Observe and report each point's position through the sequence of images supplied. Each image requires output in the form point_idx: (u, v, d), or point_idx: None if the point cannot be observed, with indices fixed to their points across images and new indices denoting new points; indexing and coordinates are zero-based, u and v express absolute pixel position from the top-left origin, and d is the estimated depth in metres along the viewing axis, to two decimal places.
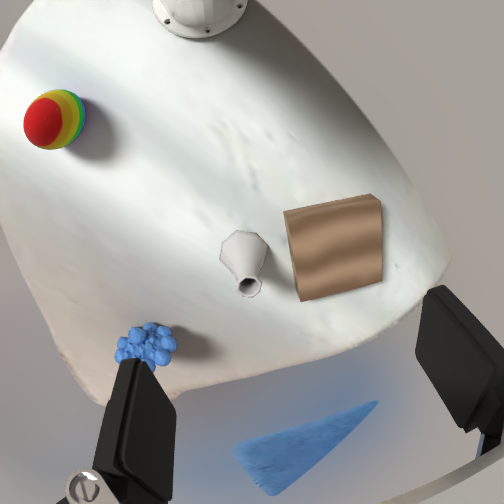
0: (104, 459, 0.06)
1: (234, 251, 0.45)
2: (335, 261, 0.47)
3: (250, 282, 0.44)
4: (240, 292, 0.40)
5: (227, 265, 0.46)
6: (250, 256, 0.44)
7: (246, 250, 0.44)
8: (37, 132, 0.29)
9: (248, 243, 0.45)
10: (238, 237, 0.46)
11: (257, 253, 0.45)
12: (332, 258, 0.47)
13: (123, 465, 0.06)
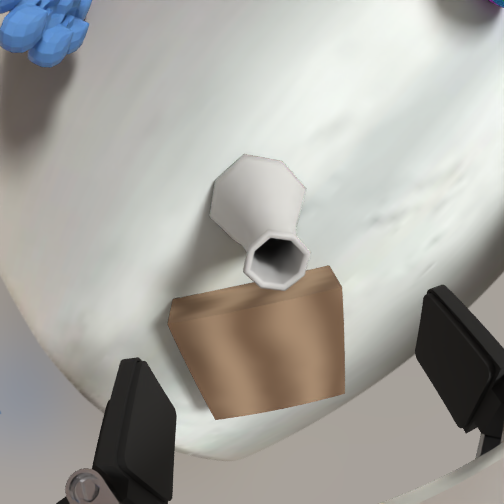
0: (104, 459, 0.06)
1: (291, 195, 0.21)
2: (253, 363, 0.27)
3: (243, 243, 0.19)
4: (261, 243, 0.15)
5: (256, 179, 0.20)
6: None
7: None
8: None
9: (297, 220, 0.22)
10: None
11: (284, 241, 0.22)
12: (261, 358, 0.27)
13: (123, 465, 0.06)
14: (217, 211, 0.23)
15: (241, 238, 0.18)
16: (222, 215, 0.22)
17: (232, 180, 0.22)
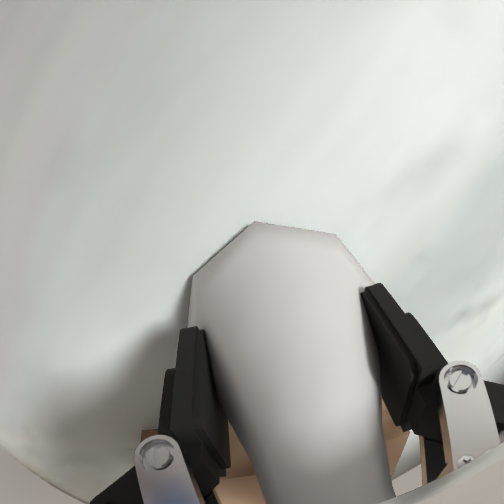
0: (179, 421, 0.07)
1: (364, 332, 0.09)
2: None
3: (261, 478, 0.06)
4: None
5: (291, 308, 0.08)
6: None
7: None
8: None
9: None
10: None
11: None
12: None
13: (199, 426, 0.07)
14: None
15: (257, 470, 0.06)
16: None
17: (230, 292, 0.10)
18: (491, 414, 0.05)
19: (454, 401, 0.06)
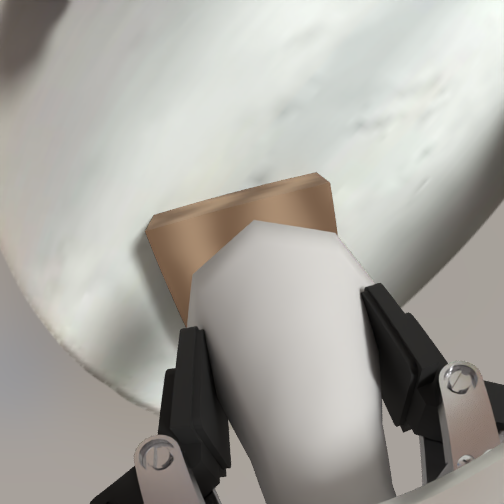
0: (179, 421, 0.07)
1: (364, 331, 0.09)
2: None
3: (261, 477, 0.06)
4: None
5: (290, 306, 0.08)
6: None
7: None
8: None
9: None
10: None
11: None
12: None
13: (199, 426, 0.07)
14: None
15: (257, 469, 0.06)
16: None
17: (229, 291, 0.10)
18: (491, 414, 0.05)
19: (454, 401, 0.06)
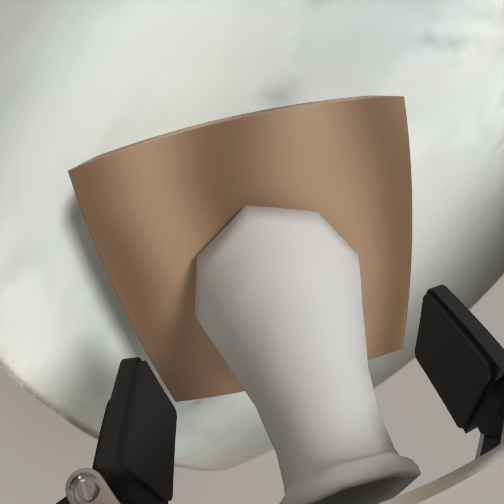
0: (104, 459, 0.06)
1: (346, 290, 0.10)
2: None
3: (265, 419, 0.08)
4: (323, 498, 0.05)
5: (280, 269, 0.10)
6: None
7: None
8: None
9: None
10: None
11: None
12: None
13: (123, 465, 0.06)
14: (207, 317, 0.12)
15: (261, 411, 0.08)
16: (216, 332, 0.11)
17: (229, 264, 0.11)
18: None
19: None
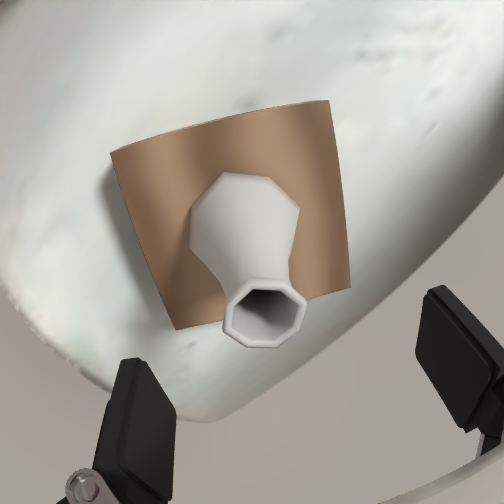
0: (104, 459, 0.06)
1: (281, 219, 0.17)
2: None
3: (224, 287, 0.15)
4: (242, 296, 0.11)
5: (238, 204, 0.17)
6: None
7: None
8: None
9: (291, 247, 0.19)
10: (297, 217, 0.19)
11: None
12: None
13: (123, 465, 0.06)
14: (196, 242, 0.19)
15: (221, 281, 0.15)
16: (201, 248, 0.18)
17: (210, 205, 0.18)
18: None
19: None
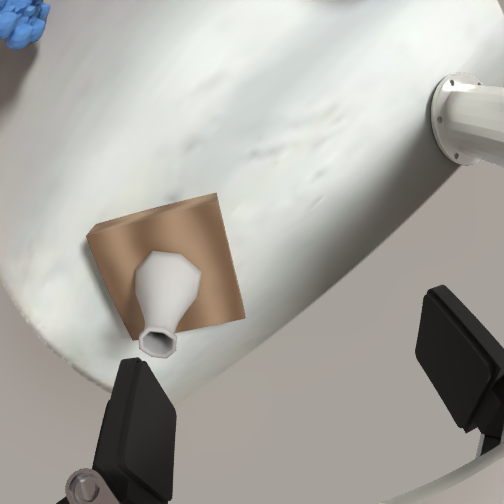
0: (104, 459, 0.06)
1: (181, 285, 0.29)
2: None
3: None
4: (145, 334, 0.23)
5: (156, 276, 0.29)
6: (182, 312, 0.29)
7: (186, 303, 0.30)
8: None
9: (191, 298, 0.31)
10: (196, 280, 0.31)
11: None
12: None
13: (123, 465, 0.06)
14: (137, 292, 0.31)
15: None
16: (139, 297, 0.30)
17: (144, 273, 0.30)
18: None
19: None
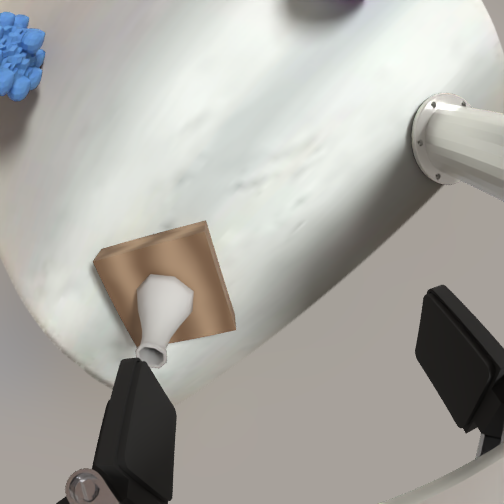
0: (104, 459, 0.06)
1: (174, 305, 0.34)
2: None
3: None
4: (140, 349, 0.28)
5: (152, 297, 0.33)
6: (175, 328, 0.33)
7: (179, 320, 0.34)
8: None
9: (184, 315, 0.35)
10: (188, 300, 0.36)
11: None
12: None
13: (123, 465, 0.06)
14: (138, 309, 0.36)
15: None
16: (139, 314, 0.35)
17: (143, 293, 0.35)
18: None
19: None
